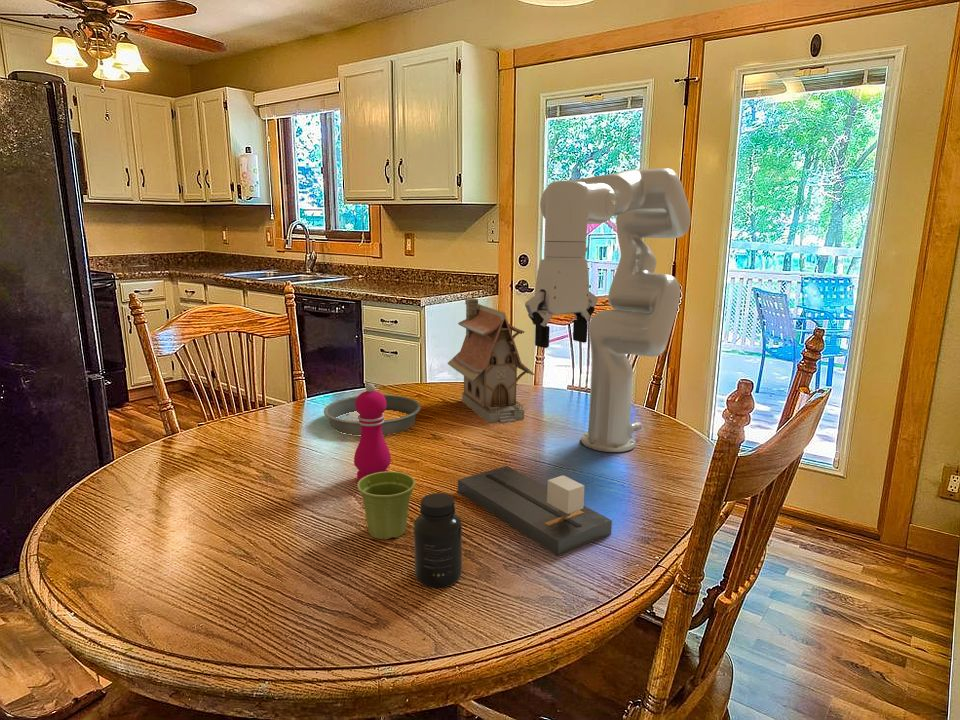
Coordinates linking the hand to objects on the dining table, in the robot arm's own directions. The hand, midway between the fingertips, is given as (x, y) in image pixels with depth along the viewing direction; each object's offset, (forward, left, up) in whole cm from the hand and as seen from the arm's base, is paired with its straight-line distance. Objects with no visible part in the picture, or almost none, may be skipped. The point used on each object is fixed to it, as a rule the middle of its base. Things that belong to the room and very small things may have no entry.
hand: (561, 344), depth 112 cm
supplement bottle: (+36, +14, -28) cm, 48 cm away
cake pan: (+13, -55, -29) cm, 63 cm away
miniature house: (-19, -47, -29) cm, 58 cm away
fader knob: (+12, +15, -25) cm, 32 cm away
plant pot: (+36, -2, -28) cm, 46 cm away
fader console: (+12, +6, -28) cm, 31 cm away
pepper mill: (+29, -22, -28) cm, 46 cm away
